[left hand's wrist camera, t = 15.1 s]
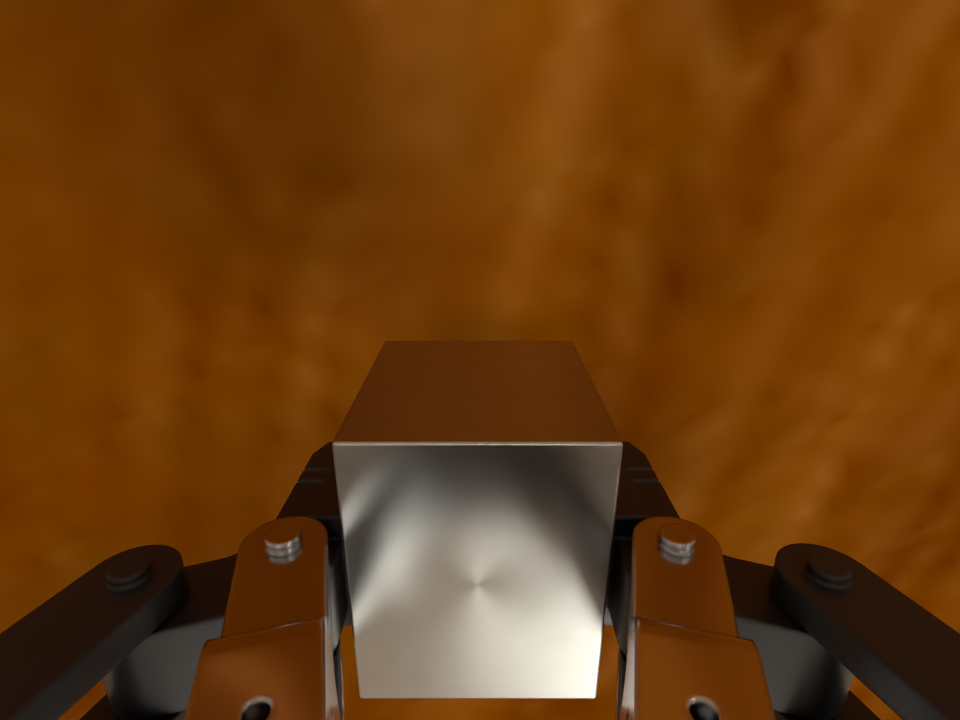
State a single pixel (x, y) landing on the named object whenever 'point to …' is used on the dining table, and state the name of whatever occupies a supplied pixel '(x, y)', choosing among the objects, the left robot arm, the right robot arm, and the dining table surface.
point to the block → (477, 520)
